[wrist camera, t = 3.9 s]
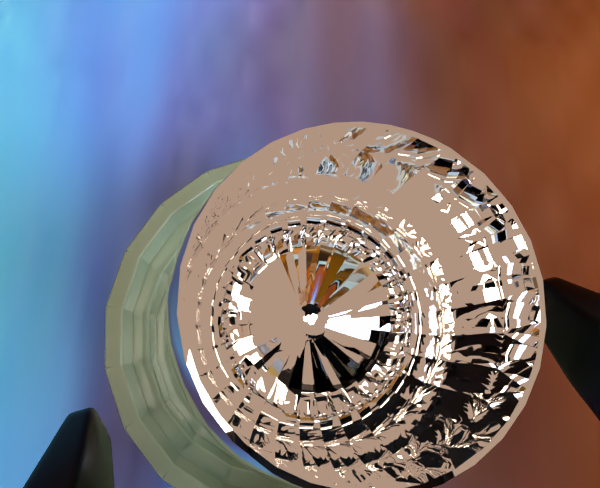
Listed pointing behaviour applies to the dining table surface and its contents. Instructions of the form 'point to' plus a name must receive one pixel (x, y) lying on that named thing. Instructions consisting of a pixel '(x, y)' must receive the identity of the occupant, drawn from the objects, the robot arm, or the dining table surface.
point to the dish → (163, 354)
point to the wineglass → (355, 311)
